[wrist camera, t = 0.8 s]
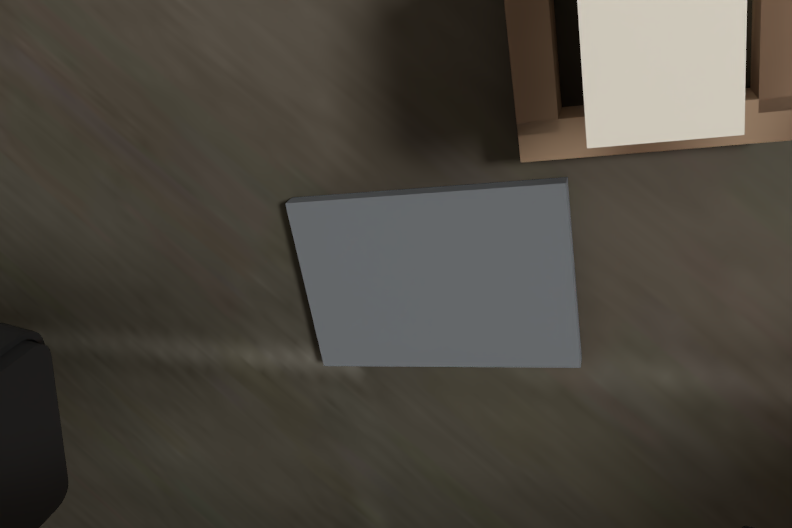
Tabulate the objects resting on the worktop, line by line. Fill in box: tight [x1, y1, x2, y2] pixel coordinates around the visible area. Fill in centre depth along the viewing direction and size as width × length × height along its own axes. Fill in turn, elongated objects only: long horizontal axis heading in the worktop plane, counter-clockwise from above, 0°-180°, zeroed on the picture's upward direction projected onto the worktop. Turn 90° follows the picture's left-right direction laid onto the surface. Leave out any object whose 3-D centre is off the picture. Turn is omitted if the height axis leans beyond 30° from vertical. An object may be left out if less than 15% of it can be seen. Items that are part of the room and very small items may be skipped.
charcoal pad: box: [285, 177, 582, 368], centre depth 34 cm, size 13×9×1 cm
